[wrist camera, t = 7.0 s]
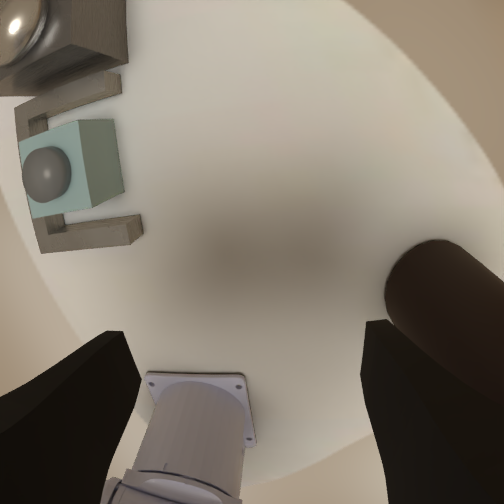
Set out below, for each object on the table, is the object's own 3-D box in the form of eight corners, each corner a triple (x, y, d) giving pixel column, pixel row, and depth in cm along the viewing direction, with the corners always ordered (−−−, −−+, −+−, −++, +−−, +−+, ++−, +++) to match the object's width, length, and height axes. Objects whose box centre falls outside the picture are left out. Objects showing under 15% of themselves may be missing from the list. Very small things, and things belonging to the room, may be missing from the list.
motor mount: (152, 232, 19) (96, 285, 12) (57, 243, 20) (-7, 287, 13) (125, -9, 13) (64, -52, 7) (31, 33, 14) (-38, 20, 8)
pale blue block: (125, 191, 18) (82, 213, 14) (69, 201, 19) (21, 224, 14) (114, 119, 17) (66, 120, 12) (58, 136, 17) (6, 144, 12)
